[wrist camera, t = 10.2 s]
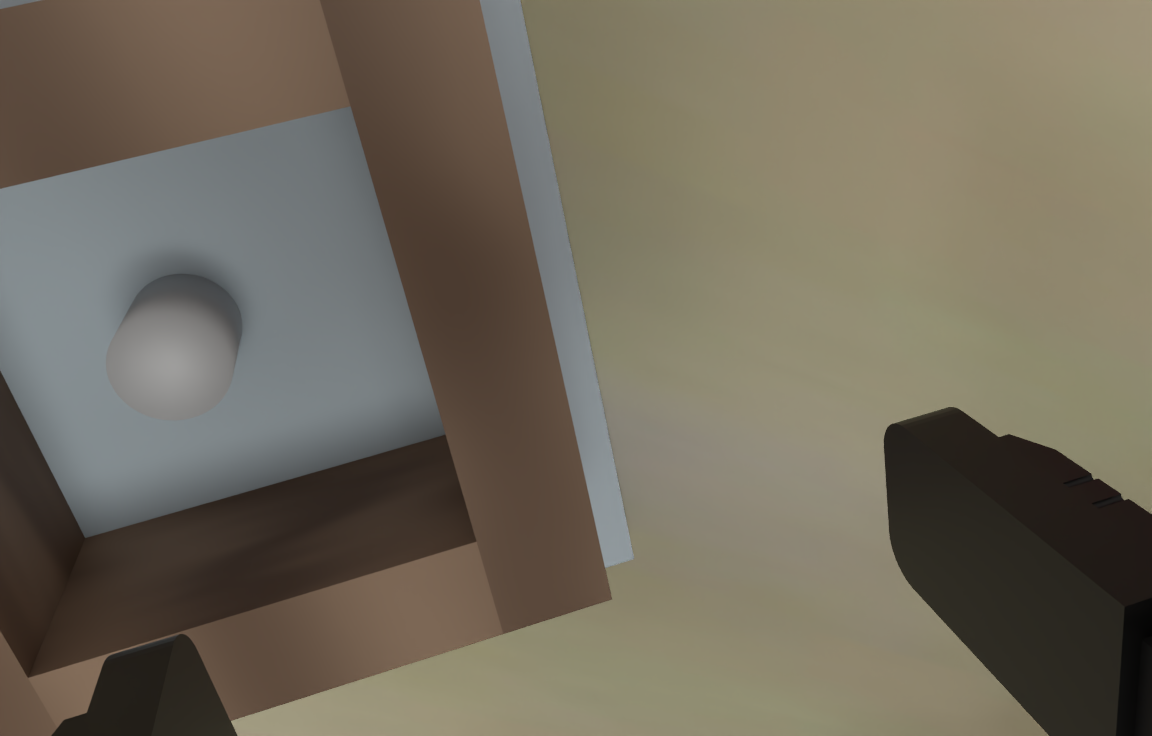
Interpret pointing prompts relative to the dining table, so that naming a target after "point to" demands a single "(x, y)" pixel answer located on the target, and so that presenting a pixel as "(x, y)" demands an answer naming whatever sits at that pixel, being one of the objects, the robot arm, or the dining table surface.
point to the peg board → (253, 314)
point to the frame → (338, 494)
